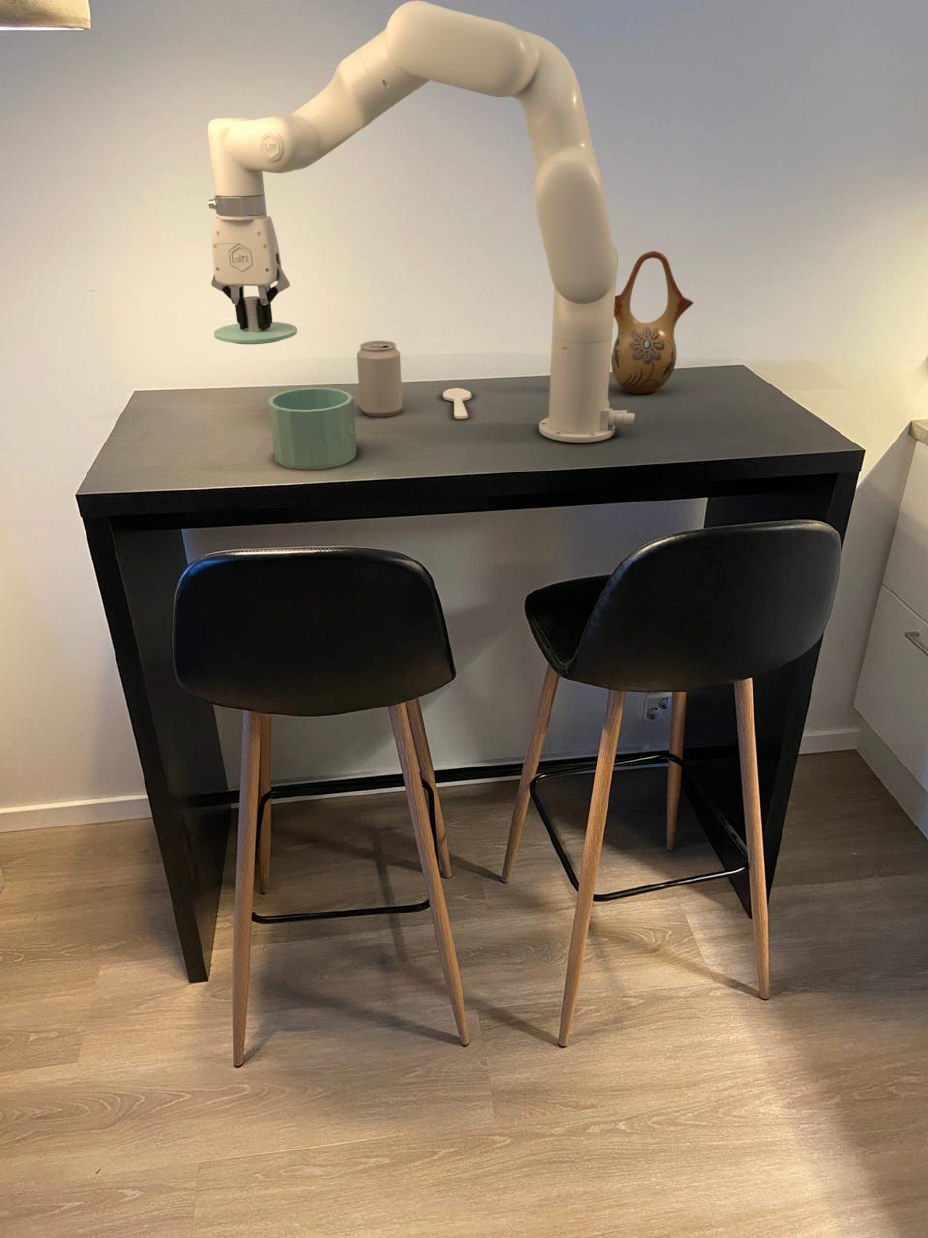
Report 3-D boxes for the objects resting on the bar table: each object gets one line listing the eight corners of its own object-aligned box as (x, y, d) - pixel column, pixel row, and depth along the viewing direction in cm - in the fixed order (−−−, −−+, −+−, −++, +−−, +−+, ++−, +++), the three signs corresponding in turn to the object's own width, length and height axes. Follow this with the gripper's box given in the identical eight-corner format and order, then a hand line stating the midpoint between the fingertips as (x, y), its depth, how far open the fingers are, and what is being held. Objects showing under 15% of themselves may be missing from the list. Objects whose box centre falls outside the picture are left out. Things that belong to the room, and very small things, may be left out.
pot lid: (307, 329, 157) (304, 290, 154) (282, 348, 146) (278, 306, 143) (232, 327, 159) (227, 289, 156) (201, 345, 148) (195, 304, 144)
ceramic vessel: (677, 383, 177) (692, 246, 165) (689, 397, 170) (706, 253, 157) (593, 385, 177) (602, 247, 164) (602, 399, 169) (612, 255, 156)
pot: (364, 444, 148) (361, 388, 143) (344, 471, 137) (339, 412, 132) (289, 441, 149) (284, 386, 145) (263, 467, 138) (256, 409, 134)
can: (396, 419, 159) (393, 349, 153) (355, 416, 160) (350, 347, 154) (407, 406, 165) (404, 339, 160) (367, 404, 167) (363, 337, 161)
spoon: (446, 419, 158) (446, 416, 158) (441, 390, 174) (441, 387, 174) (476, 418, 159) (476, 415, 158) (469, 389, 174) (469, 387, 174)
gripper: (182, 209, 141) (200, 331, 150) (284, 210, 138) (295, 334, 147) (201, 204, 147) (217, 322, 156) (299, 205, 145) (309, 324, 154)
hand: (255, 327), depth 152 cm, fingers closed on pot lid, 2 cm apart
